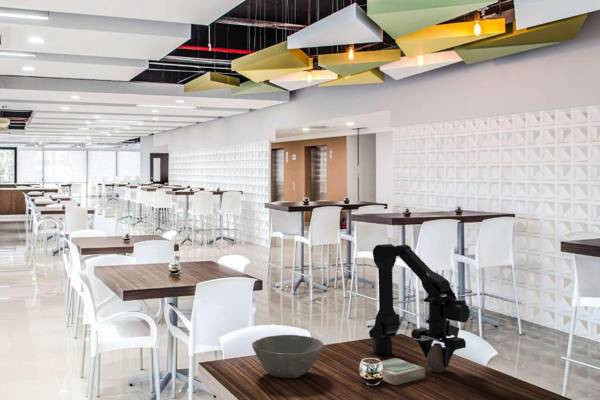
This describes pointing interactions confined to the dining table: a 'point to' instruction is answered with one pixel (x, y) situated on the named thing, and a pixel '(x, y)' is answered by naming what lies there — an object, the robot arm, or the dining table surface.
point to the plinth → (401, 371)
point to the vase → (435, 358)
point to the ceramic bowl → (287, 354)
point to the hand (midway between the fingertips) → (437, 364)
